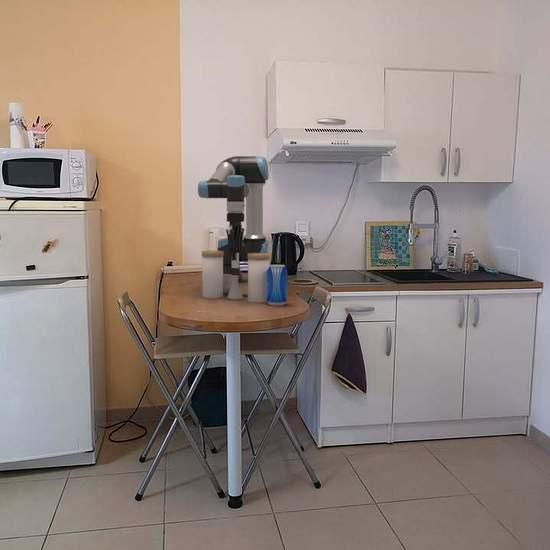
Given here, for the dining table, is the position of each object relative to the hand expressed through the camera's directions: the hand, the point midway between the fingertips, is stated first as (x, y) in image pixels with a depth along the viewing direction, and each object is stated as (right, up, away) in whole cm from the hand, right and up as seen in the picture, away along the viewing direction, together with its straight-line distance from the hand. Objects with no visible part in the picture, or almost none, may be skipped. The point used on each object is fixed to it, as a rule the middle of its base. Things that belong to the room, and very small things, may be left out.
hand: (235, 267), depth 233 cm
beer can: (+18, -15, -10) cm, 25 cm away
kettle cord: (+2, -13, +8) cm, 15 cm away
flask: (0, -14, +2) cm, 14 cm away
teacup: (-8, -11, +20) cm, 24 cm away
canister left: (-10, -13, +6) cm, 17 cm away
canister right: (+10, -14, -2) cm, 17 cm away
